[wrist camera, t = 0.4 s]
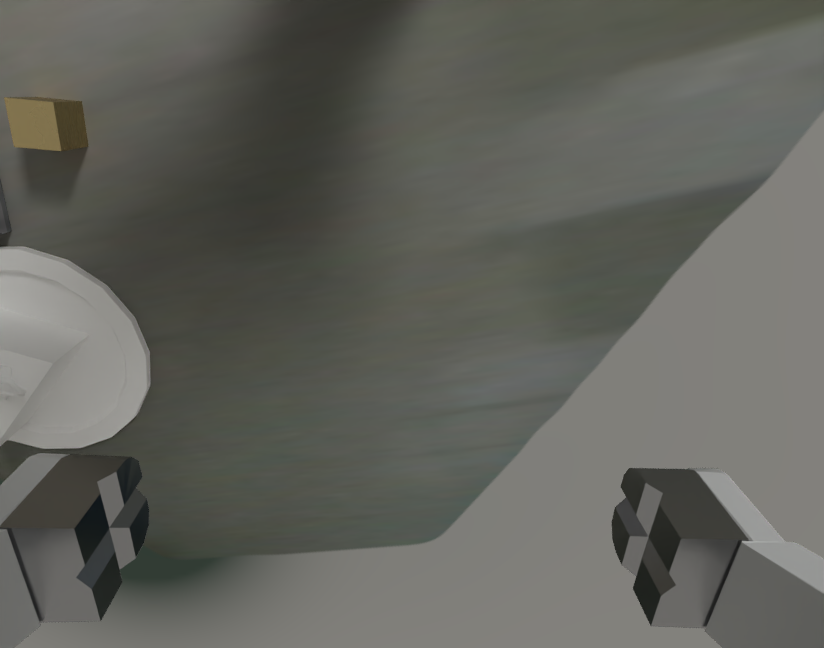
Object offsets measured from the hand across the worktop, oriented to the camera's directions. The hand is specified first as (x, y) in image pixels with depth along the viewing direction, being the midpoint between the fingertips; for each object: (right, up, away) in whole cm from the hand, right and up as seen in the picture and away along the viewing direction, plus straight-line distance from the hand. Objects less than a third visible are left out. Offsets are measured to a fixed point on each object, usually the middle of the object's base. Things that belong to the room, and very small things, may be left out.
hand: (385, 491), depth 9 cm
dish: (-42, 0, +51) cm, 66 cm away
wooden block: (-32, +22, +41) cm, 56 cm away
